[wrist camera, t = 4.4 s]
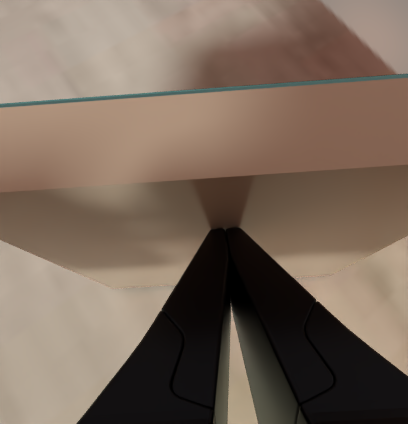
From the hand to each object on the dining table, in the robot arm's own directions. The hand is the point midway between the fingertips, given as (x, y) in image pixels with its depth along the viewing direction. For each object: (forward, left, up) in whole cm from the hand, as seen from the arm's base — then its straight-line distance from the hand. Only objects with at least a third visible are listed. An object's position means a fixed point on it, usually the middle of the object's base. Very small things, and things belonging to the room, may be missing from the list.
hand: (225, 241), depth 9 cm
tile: (0, 0, -9) cm, 9 cm away
